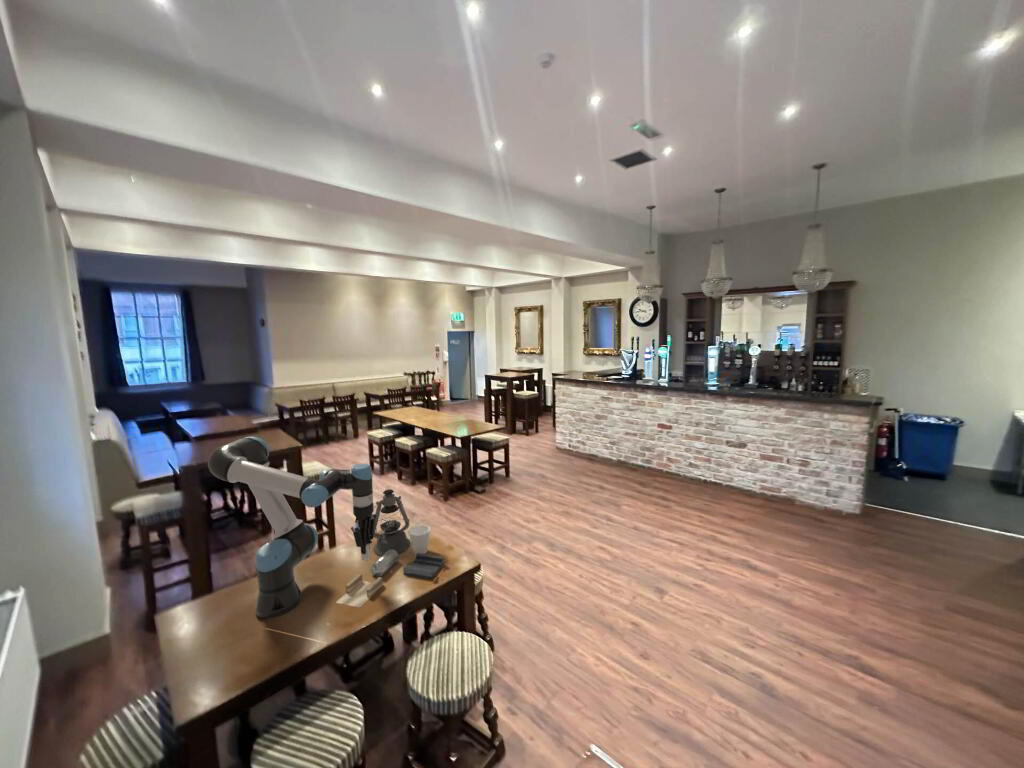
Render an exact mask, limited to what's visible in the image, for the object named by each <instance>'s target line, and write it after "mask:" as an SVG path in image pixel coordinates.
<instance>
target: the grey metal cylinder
mask: <svg viewBox="0 0 1024 768" xmlns="http://www.w3.org/2000/svg"><path fill="white" fill-rule="evenodd" d="M399 555H400V554H398V553H397V552H396V551H395V550H393V549H390V550H388V551H387V552H386V553H385V554H384V555H383V556H380V558H378V559H377V560H376V561H375V562H374V563H373V564H372V565H371V566H370V568H369V572H370V574H371V576H373V577H377V578H379V577H381V578H382V577H383V576H384V574H385V573H386V572H387V571H388V570H389V569H391V568H392V566H394V565H395V564H396V563H397V562H398V561H399V558H400V557H399Z"/></svg>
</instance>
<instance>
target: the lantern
mask: <svg viewBox="0 0 1024 768" xmlns="http://www.w3.org/2000/svg"><path fill="white" fill-rule="evenodd" d="M388 487H389V489H388ZM394 492H395V491H394V490H393V489H392V488H391V487H390V485H389V486H387V489H385V490H383V492H382V494H383V495H382V500H379V501H378V500H377V501H376V502H375V504H376V505H375V506H374V509H375V508H376V509H375V514H376V519H375V525H374V535H373V538H375V539H376V543H375V544H374V546H373V548H372V551H373V553H374V554H375V555H376V556H378V557H379V556H380V557H382V556H383V555H384V554H385V553H386V552H387V551H388V550H390V549H393V550H395V551H396V552H397V553H398V555H401V554H402V552H403V553H405V552H406V551H407V550H409V548H410V547H411V545H412V544H411V540H410V538H408V536H407V534H406V531H407V530H409V527H410V519H409V517H408V515H407V512H406V511H405V508H404V505H403V503H402V496H401V495H399V496H395V493H394ZM396 504H397V505H396ZM398 512H399V515H400V516H399V517H398V519H395V518H393V516H395V515H397V514H398ZM381 513H382V514H383V515H380V514H381ZM393 513H395V514H393ZM389 514H392V515H390V516H387V517H386V515H389ZM401 516H402V520H403V521H404V523H405V525H404V526H403V527H401V525H402V524H401V523H402V522H400V521H398V520H399V518H400V517H401ZM391 517H392V518H391ZM390 518H391V519H392V520H387V519H390ZM379 521H380V524H379V527H380V532H377V530H378V528H377V527H378V523H379ZM382 521H384V522H383V523H382ZM400 528H401V529H400ZM410 544H411V545H410ZM405 550H406V551H405ZM400 553H401V554H400Z"/></svg>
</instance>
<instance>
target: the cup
mask: <svg viewBox="0 0 1024 768" xmlns="http://www.w3.org/2000/svg"><path fill="white" fill-rule="evenodd" d="M430 531H431V527H430V526H429V525H425V524H417V525H415V526H411V527H410V528H408V531H407V533H408V534H409V540H410V542H411V548H412V551H413V554H414V556H415V555H416V554H417V553H420V554H426V553H427V552H428V550H429V549H428V548H429V539H430Z"/></svg>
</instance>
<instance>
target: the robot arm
mask: <svg viewBox="0 0 1024 768" xmlns="http://www.w3.org/2000/svg"><path fill="white" fill-rule="evenodd" d="M269 456H270V448H269V445H268V444H267V443H266V441H265V440H264V439H262V438H260V437H257V436H246V437H242V438H240V439H237V440H235V441H231V442H229V443H227V444H223V445H221V446H218V447H216V448H215V449H214V450H213V451H212V452H211V453H210V455H209V456H208V460H207V467H208V469H209V472H210V473H211V474H212V475H213V477H215V478H217V479H219V480H222V481H225V482H228V483H232V484H235V483H238V482H240V483H243V484H247V486H248V488H249V490H250V491H251V492H252V494H253V496H254V498H255V500H256V501H257V503H258V504H259V506H260V508H261V510H262V512H263V513H264V515H265V517H266V519H267V520H268V522H269V524H270V526H271V527H272V529H273V531H274V534H273V537H272V538H273V540H272V541H270V542H269V541H268V542H267V543H265V544H264V545H262V546H261V547H260V548H259V549H258V550H257V552H256V553H255V561H254V565H255V566H254V567H255V571H256V577H257V584H258V585H257V587H258V595H257V599H256V600H257V601H256V602H255V605H254V607H255V608H254V609H255V615H256V616H257V617H258V618H260V619H265V620H266V619H270V618H271V619H272V618H276V617H280V616H282V615H285V614H287V613H289V612H291V611H292V610H294V609H296V608H297V606H299V605H300V603H301V601H302V600H303V599H302V591H301V589H300V587H299V586H298V583H297V582H296V580H295V571H294V569H295V568H296V566H298V564H300V563H301V562H302V561H303V560H304V559H305V558H306V557H307V556H309V555H310V554H311V553H312V552H313V550H314V549H315V548H316V546H317V544H318V541H319V537H318V531H317V529H315V527H314V526H313V525H310V523H305V521H304V520H303V519H298V518H297V517H296V514H295V513H294V511H293V510H292V508H291V506H290V505H289V502H288V500H287V499H286V497H285V496H284V495H287V496H290V497H293V498H298V499H300V500H301V502H302V503H303V504H304V505H305V506H306V507H308V508H317V507H319V506H320V505H323V504H324V503H325V502H326V501H327V500H328V499H330V498H331V497H332V496H334V495H335V494H336V493H338V491H340V490H344V491H345V490H347V491H348V490H349V491H350V490H351V491H352V492H351V493H352V495H351V496H352V497H351V498H352V510H353V511H352V513H353V515H354V517H355V521H354V526H351V528H350V530H351V532H352V533H353V537H354V541H355V546H356V547H358V548H360V554H361V560H362V561H366V562H369V561H370V560H371V554H370V553H371V550H370V549H371V546H370V545H371V544H372V543H373V539H374V537H373V535H374V525H375V519H376V514H374V511H375V510H374V509H375V508H374V507H375V506H374V493H373V488H374V487H373V471H372V469H373V468H372V466H371V465H369V463H358V464H354V465H352V467H351V469H336V468H328V469H324V470H323V471H322V472H321V474H320V475H319V479H315V478H311V477H310V478H309V477H306V476H303V475H300V474H296V473H292V472H288V471H285V470H281V469H278V468H274V467H270V463H271V462H270V461H269V459H268V457H269Z"/></svg>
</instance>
